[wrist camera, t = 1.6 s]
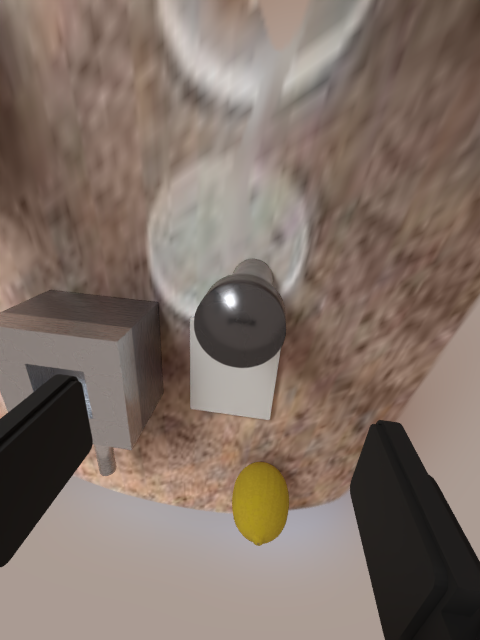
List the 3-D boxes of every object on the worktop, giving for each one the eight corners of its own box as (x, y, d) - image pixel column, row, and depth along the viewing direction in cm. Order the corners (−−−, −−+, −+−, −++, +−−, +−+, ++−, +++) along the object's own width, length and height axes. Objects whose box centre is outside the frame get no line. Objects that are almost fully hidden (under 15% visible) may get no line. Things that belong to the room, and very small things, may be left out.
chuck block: (50, 289, 26) (-25, 323, 19) (158, 302, 25) (117, 341, 18) (83, 435, 33) (38, 493, 27) (166, 448, 33) (139, 511, 26)
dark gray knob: (224, 245, 22) (193, 279, 14) (287, 251, 22) (292, 290, 14) (222, 303, 24) (193, 362, 16) (278, 309, 24) (279, 373, 16)
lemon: (272, 486, 33) (271, 569, 26) (229, 467, 33) (216, 546, 25) (297, 458, 31) (303, 541, 24) (251, 437, 30) (243, 516, 23)
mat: (191, 316, 25) (190, 319, 24) (283, 327, 24) (283, 330, 24) (191, 404, 29) (190, 408, 29) (269, 415, 29) (269, 420, 28)
